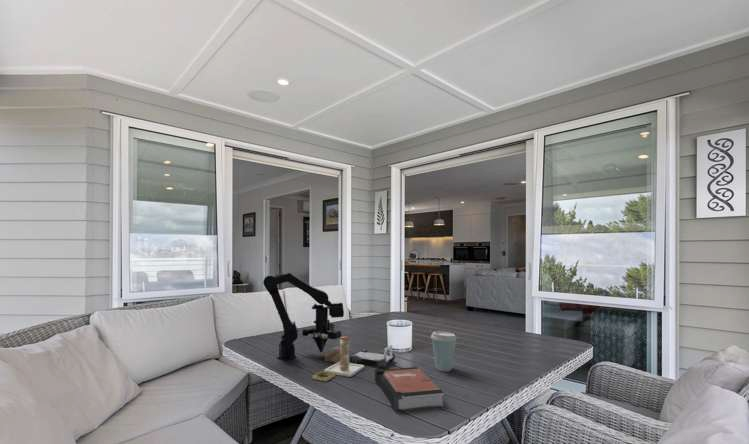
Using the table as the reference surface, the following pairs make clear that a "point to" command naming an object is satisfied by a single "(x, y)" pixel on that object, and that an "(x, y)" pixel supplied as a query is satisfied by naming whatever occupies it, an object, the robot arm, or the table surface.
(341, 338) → the pin
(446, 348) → the disposable coffee cup
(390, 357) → the trolley
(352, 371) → the tray
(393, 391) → the book
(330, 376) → the pin socket
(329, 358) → the bar
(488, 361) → the table surface
